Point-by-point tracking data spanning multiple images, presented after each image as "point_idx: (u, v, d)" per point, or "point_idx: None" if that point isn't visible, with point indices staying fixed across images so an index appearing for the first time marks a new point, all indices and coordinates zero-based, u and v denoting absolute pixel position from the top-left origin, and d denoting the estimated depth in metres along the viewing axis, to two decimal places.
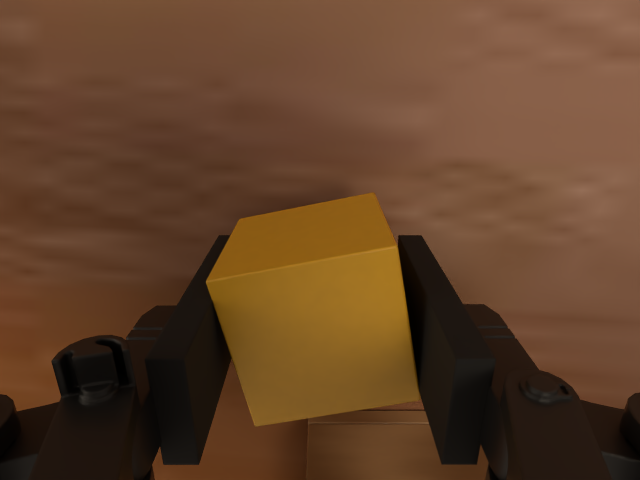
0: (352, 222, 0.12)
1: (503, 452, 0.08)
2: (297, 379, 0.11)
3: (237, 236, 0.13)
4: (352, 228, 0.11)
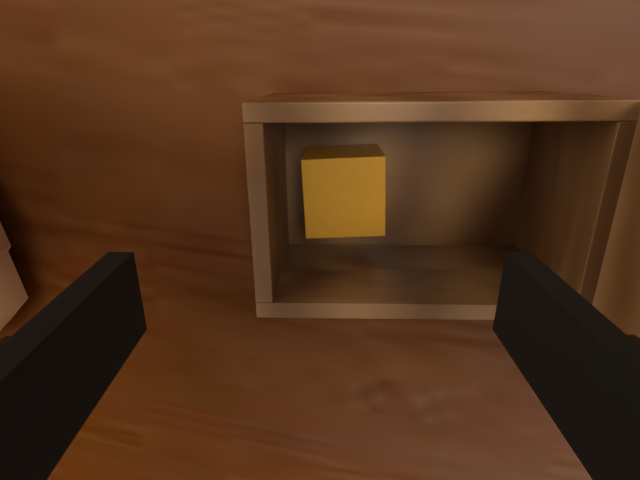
0: (366, 150, 0.25)
1: None
2: (330, 215, 0.24)
3: (309, 151, 0.26)
4: (366, 151, 0.24)
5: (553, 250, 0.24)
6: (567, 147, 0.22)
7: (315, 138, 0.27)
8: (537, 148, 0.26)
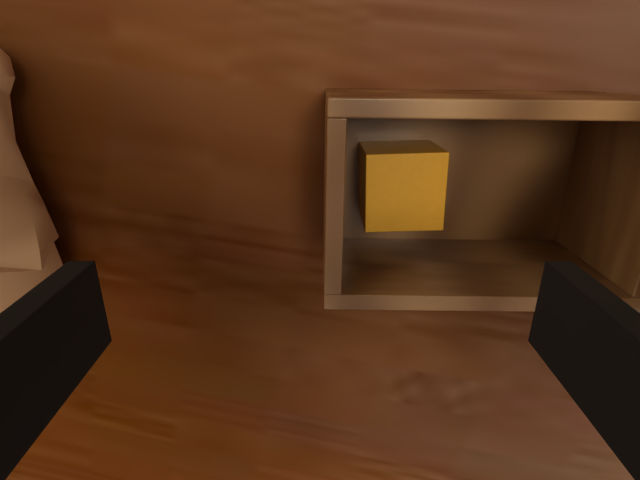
0: (424, 146, 0.25)
1: None
2: (391, 210, 0.25)
3: (366, 146, 0.26)
4: (425, 147, 0.25)
5: (604, 245, 0.25)
6: (623, 146, 0.23)
7: (368, 133, 0.27)
8: (585, 146, 0.27)
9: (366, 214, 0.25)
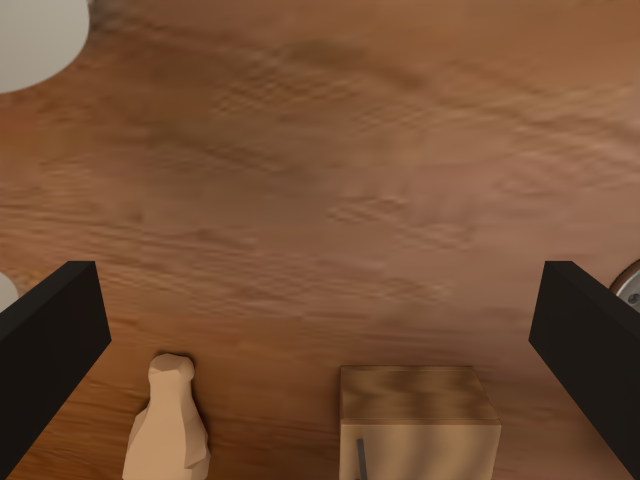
0: None
1: None
2: None
3: None
4: None
5: None
6: None
7: None
8: None
9: None
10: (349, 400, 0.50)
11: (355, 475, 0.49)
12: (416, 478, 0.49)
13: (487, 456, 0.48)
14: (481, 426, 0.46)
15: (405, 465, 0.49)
